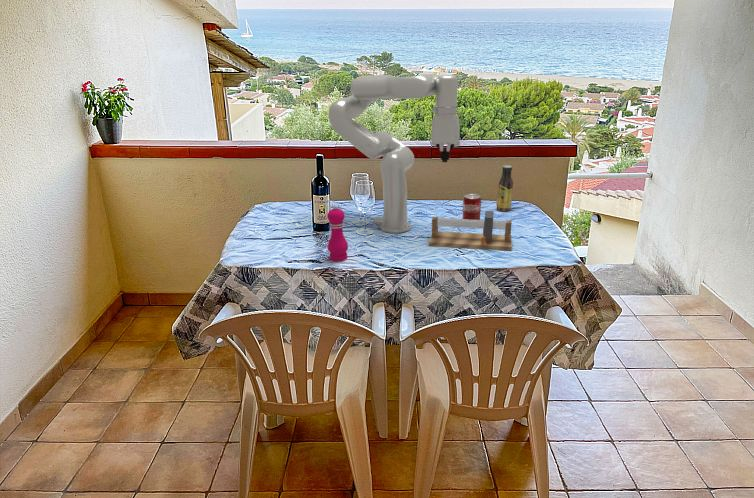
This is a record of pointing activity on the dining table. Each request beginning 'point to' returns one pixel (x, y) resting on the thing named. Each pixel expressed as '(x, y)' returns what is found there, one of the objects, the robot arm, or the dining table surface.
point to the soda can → (471, 207)
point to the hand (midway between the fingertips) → (444, 161)
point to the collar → (488, 224)
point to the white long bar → (469, 223)
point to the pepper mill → (337, 235)
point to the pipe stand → (470, 239)
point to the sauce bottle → (505, 189)
